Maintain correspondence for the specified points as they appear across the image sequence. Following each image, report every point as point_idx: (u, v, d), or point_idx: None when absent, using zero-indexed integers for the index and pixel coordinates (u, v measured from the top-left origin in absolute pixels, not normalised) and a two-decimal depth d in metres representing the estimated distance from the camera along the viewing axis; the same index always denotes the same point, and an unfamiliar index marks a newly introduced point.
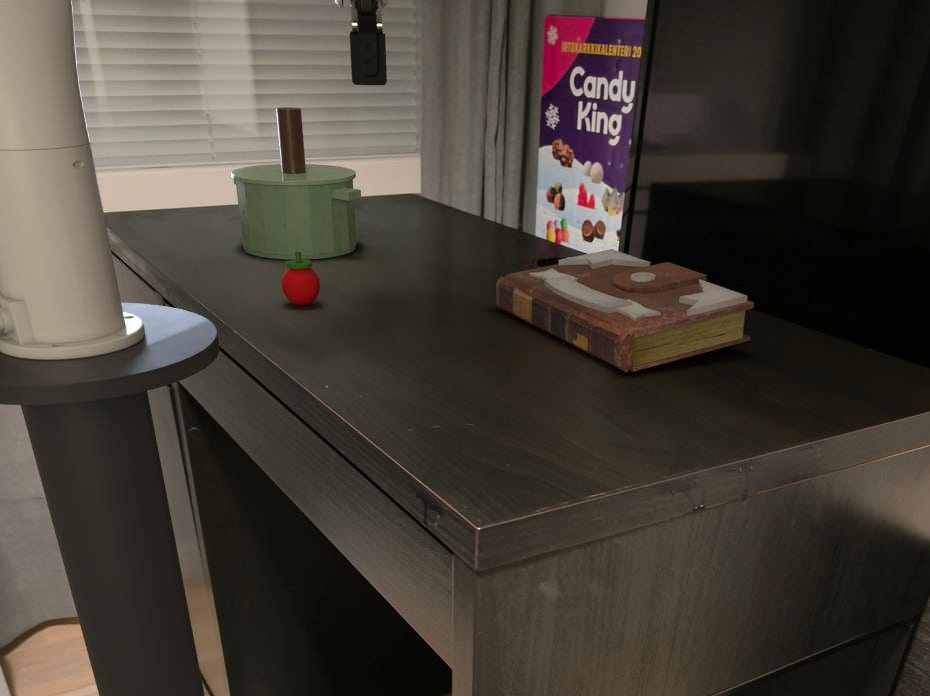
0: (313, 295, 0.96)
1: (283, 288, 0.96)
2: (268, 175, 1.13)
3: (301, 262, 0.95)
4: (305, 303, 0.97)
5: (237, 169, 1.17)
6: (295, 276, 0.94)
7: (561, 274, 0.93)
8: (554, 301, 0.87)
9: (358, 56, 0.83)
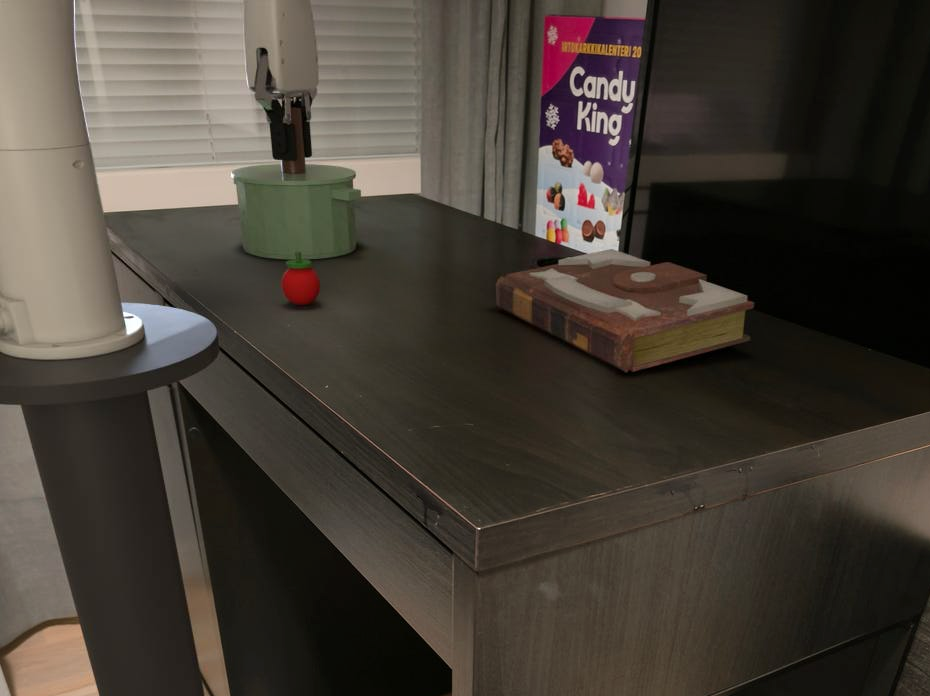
0: (313, 295, 0.96)
1: (283, 288, 0.96)
2: (268, 175, 1.13)
3: (301, 262, 0.95)
4: (305, 303, 0.97)
5: (237, 169, 1.17)
6: (295, 276, 0.94)
7: (561, 274, 0.93)
8: (554, 301, 0.87)
9: None
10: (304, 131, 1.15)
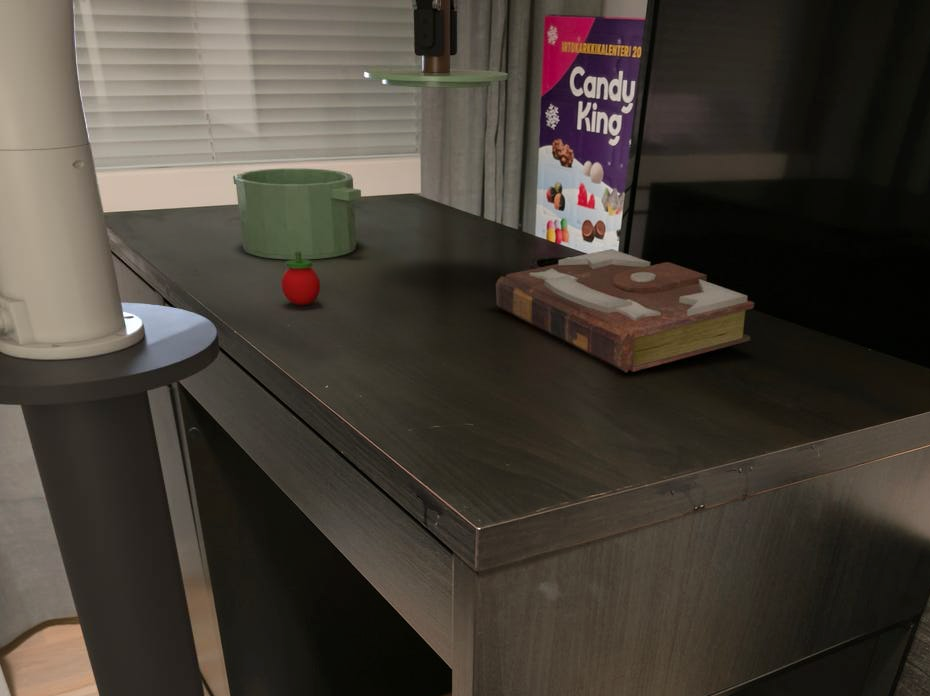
0: (313, 295, 0.96)
1: (283, 288, 0.96)
2: (410, 73, 0.96)
3: (301, 262, 0.95)
4: (305, 303, 0.97)
5: (368, 70, 1.00)
6: (295, 276, 0.94)
7: (561, 274, 0.93)
8: (554, 301, 0.87)
9: None
10: (450, 23, 0.98)
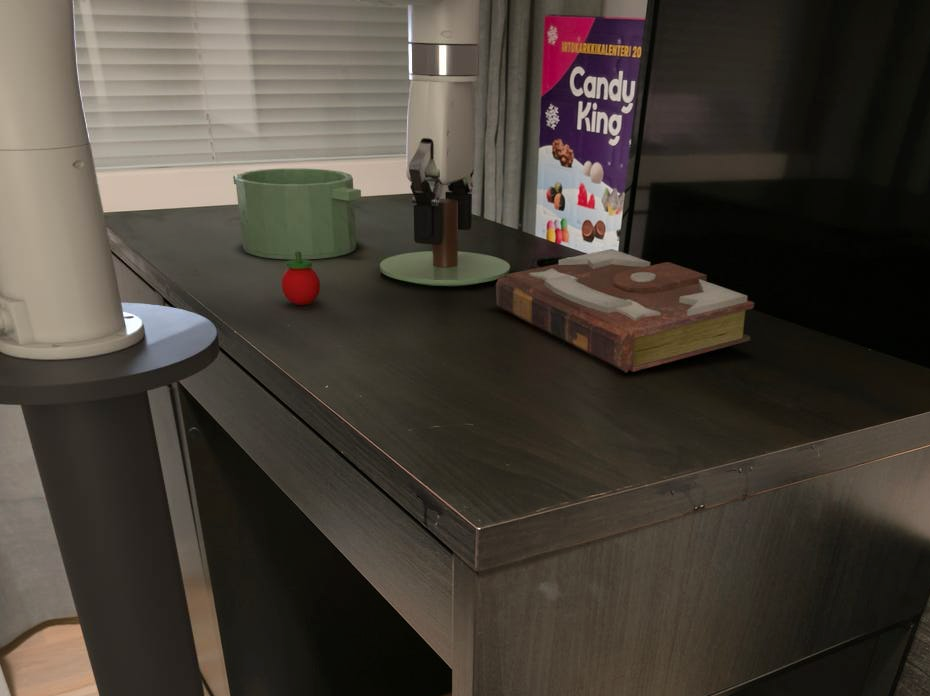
0: (313, 295, 0.96)
1: (283, 288, 0.96)
2: (422, 271, 1.07)
3: (301, 262, 0.95)
4: (305, 303, 0.97)
5: (384, 261, 1.11)
6: (295, 276, 0.94)
7: (561, 274, 0.93)
8: (554, 301, 0.87)
9: None
10: (466, 204, 1.09)
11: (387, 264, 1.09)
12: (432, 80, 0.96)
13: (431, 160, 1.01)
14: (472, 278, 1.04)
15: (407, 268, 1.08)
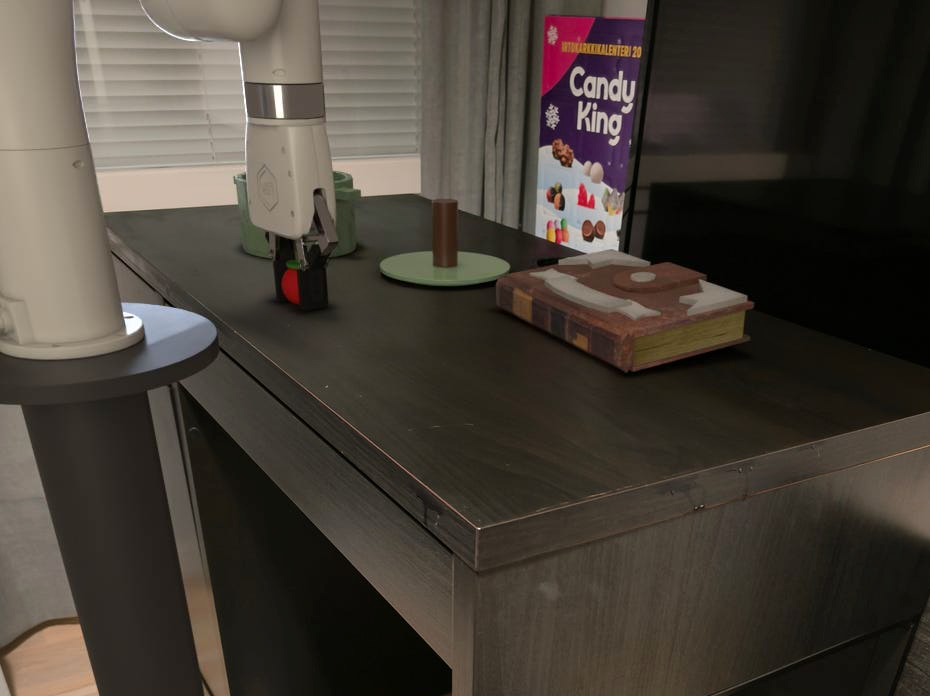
0: None
1: (283, 288, 0.96)
2: (422, 271, 1.07)
3: None
4: None
5: (384, 261, 1.11)
6: (295, 276, 0.95)
7: (561, 274, 0.93)
8: (554, 301, 0.87)
9: (306, 287, 0.94)
10: None
11: (387, 264, 1.09)
12: (309, 124, 0.86)
13: None
14: (472, 278, 1.04)
15: (407, 268, 1.08)
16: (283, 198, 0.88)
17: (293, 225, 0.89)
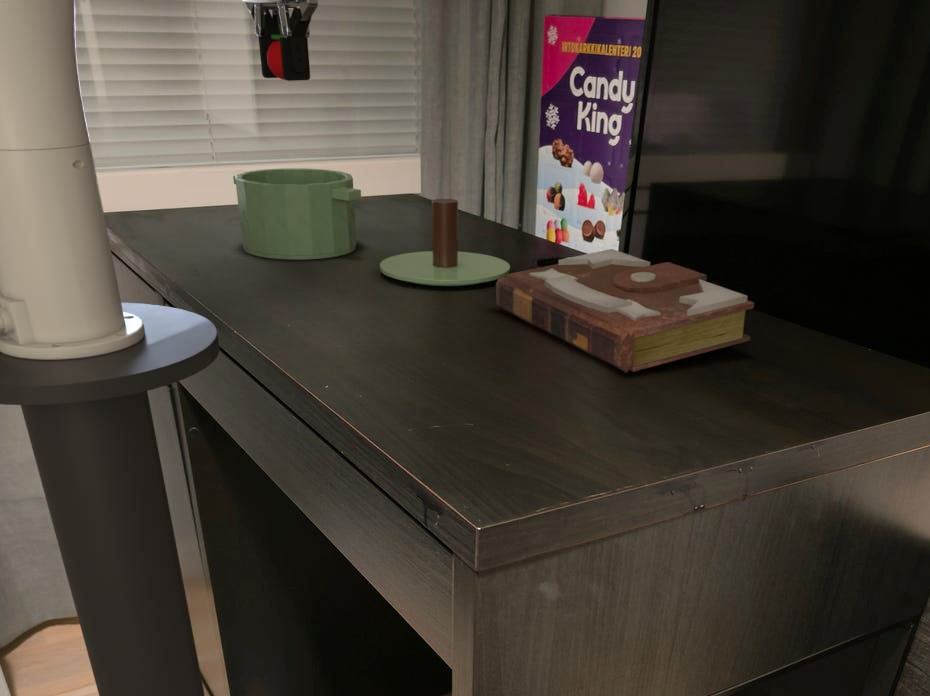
0: None
1: (268, 60, 1.02)
2: (422, 271, 1.07)
3: None
4: None
5: (384, 261, 1.11)
6: (279, 46, 1.01)
7: (561, 274, 0.93)
8: (554, 301, 0.87)
9: (289, 57, 1.01)
10: None
11: (387, 264, 1.09)
12: None
13: None
14: (472, 278, 1.04)
15: (407, 268, 1.08)
16: None
17: None
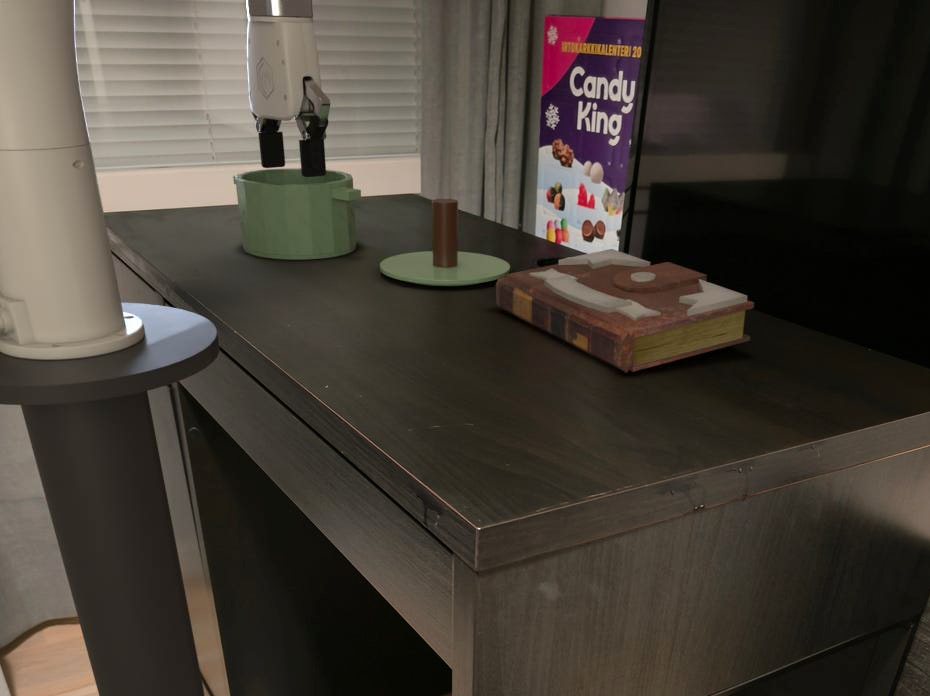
0: None
1: None
2: (422, 271, 1.07)
3: None
4: None
5: (384, 261, 1.11)
6: None
7: (561, 274, 0.93)
8: (554, 301, 0.87)
9: (307, 156, 1.11)
10: (281, 141, 1.18)
11: (387, 264, 1.09)
12: (299, 21, 1.05)
13: None
14: (472, 278, 1.04)
15: (407, 268, 1.08)
16: (278, 84, 1.07)
17: (286, 107, 1.08)
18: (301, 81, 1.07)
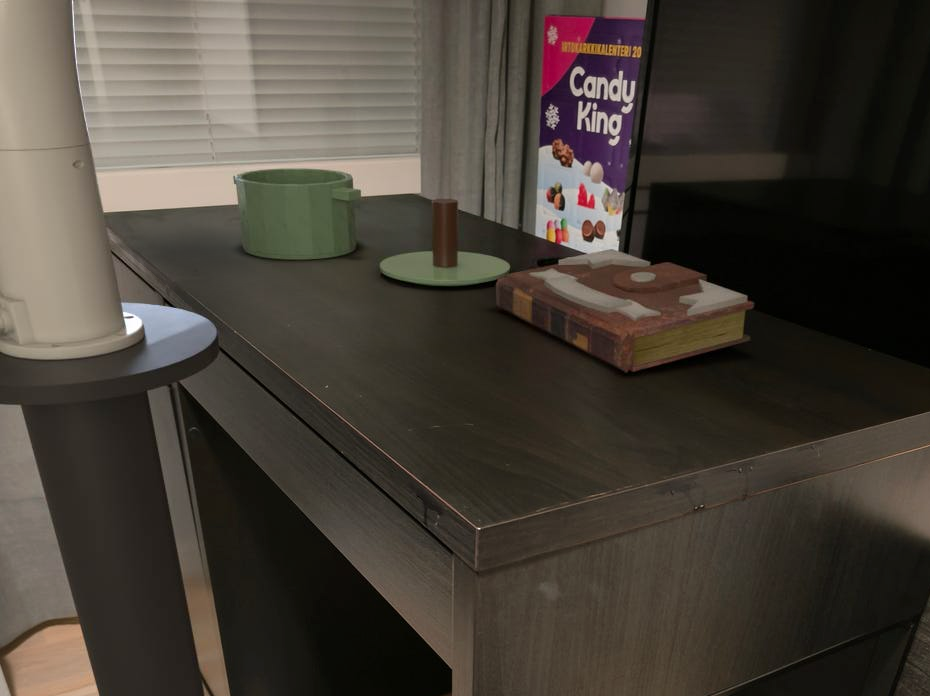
0: None
1: None
2: (422, 271, 1.07)
3: None
4: None
5: (384, 261, 1.11)
6: None
7: (561, 274, 0.93)
8: (554, 301, 0.87)
9: None
10: None
11: (387, 264, 1.09)
12: None
13: None
14: (472, 278, 1.04)
15: (407, 268, 1.08)
16: None
17: None
18: None
